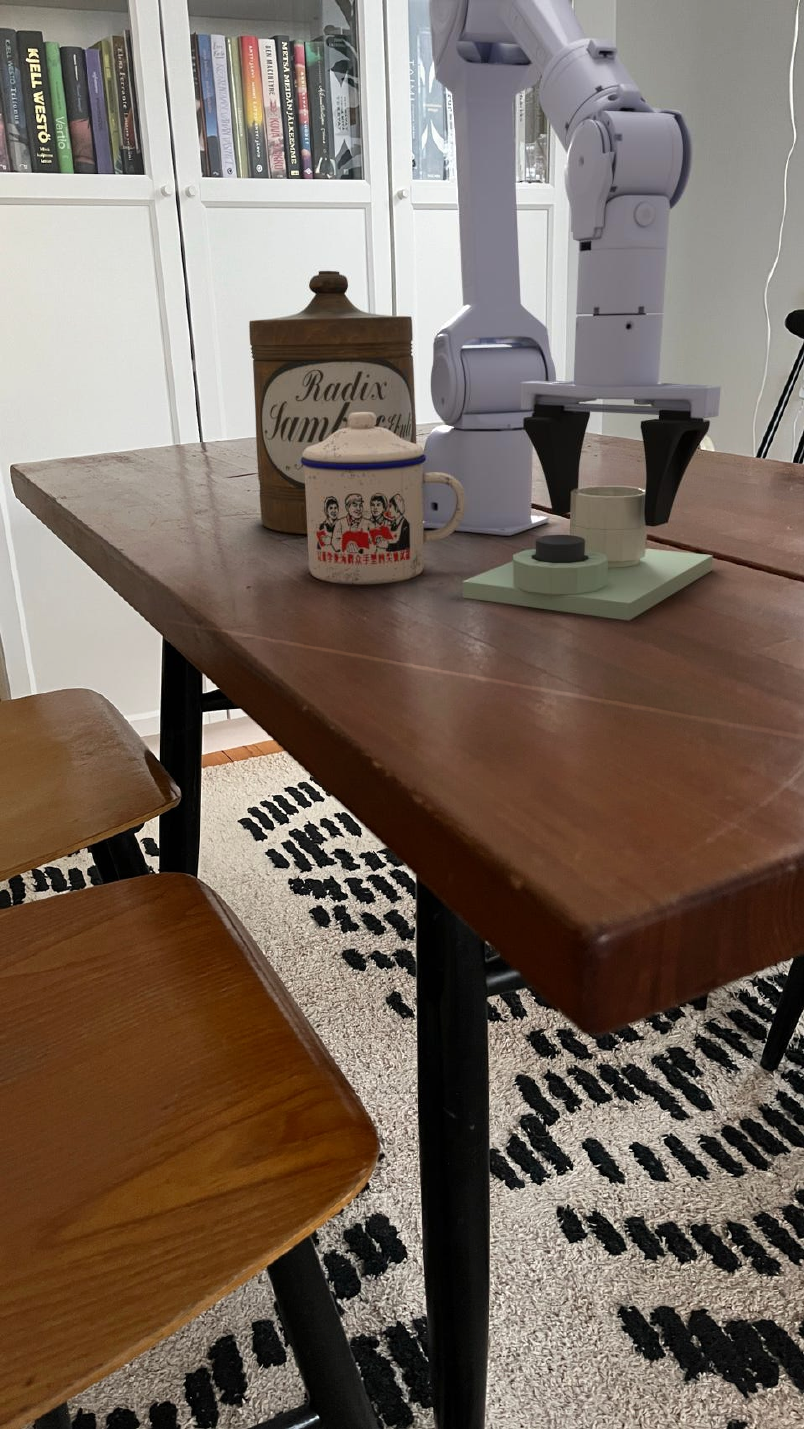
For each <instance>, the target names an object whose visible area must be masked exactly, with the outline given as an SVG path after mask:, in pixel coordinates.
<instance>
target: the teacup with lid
mask: <svg viewBox="0 0 804 1429" xmlns="http://www.w3.org/2000/svg"><path fill="white" fill-rule="evenodd" d="M348 423H349V425H350V427H348V428H343V429H340V430H338V431H336V432H334V433H333V434H332V435H330V436H329V437H328V438H327V439H325V440H324V441H322V442H320V443H318V444H315V445H312V446H309V447H307V448H306V449H305V450H304V452H303V454H302V456H303V457H302V458H301V463H302V464H303V465H304V469H305V490H306V510H307V530H308V535H307V547H308V548H307V549H308V550H307V551H308V569H309V572H310V574H311V575H312V576H313V577H314V578H316V579H318V580H321V581H323V582H327V583H333V584H341V585H358V586H359V585H361V586H363V585H366V586H367V585H383V584H390V583H392V584H393V583H397V582H403V581H406V580H410V579H413V578H415V577H417V576H418V575H420V574H422V572H423V571H424V566H425V562H424V560H425V558H424V554H425V550H424V549H425V548H424V543H425V542H427V543H428V542H435V541H440V540H443V539H445V538H447V537H448V536H450V535H451V534H452V533H453V532H454V530H455V529H456V528H457V527H458V525H459V524H460V522H461V520H462V517H463V515H464V511H465V506H466V496H465V492H464V489H463V487H462V485H461V484H460V483H459V482H458V481H457V480H456V479H455V478H454V477H452V476H451V475H448V474H445V473H439V472H430V473H423V462H424V461H425V460H426V456H425V455H424V448H423V447H422V446H421V445H420V444H418V443H417V444H414V443H411V442H408V441H405V440H403V439H401V438H400V437H398V436H397V435H395V434H394V433H393V432H391V431H390V430H388V429H385V428H381V427H374V426H375V425H376V416H375V414H374V413H372V412H355V413H351V414H350V415H349V417H348ZM423 483H444V484H447V485H448V486H450V487H451V488H452V489H453V490H454V491H455V493H456V498H457V502H456V508H455V511H454V514H453V516H452V518H451V519H450V521H449V522H448V523H447V524H446V525H445V526H443V527H442V528H440V529H432V530H424V527H423Z"/></svg>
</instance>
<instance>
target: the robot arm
mask: <svg viewBox="0 0 804 1429" xmlns="http://www.w3.org/2000/svg"><path fill="white" fill-rule="evenodd" d="M428 16H429V18H428V19H429V34H430V48H431V49H430V52H431V60H432V63H433V64H432V65H433V77H434V79H435V80H436V81H437V82H438V83H439V84H441V85H442V86H443V87H444V88H445V89H447V90H448V91H449V92H450V99H451V110H452V111H451V113H452V125H453V126H452V127H453V144H454V160H455V161H454V162H455V180H456V199H457V217H458V218H457V219H458V236H459V239H458V240H459V256H460V272H461V274H460V275H461V292H462V293H461V294H462V308H461V309H460V311H458V312H457V313H456V314H455V315H454V316H452V318H451V319H449V320H448V321H447V322H446V323H445V324H444V325H443V326H442V327H441V328H440V329H439V330H438V332H437V333H436V335H435V337H434V339H433V345H432V348H433V349H432V350H433V351H432V352H433V353H432V366H431V372H430V395H431V401H432V406H433V408H434V411H435V412H436V414H437V415H438V417H439V418H440V420H441V421H442V422H443V423H444V425H440V426H436V427H434V429H432V430H431V431H430V433H429V434H428V436H427V438H426V441H425V444H424V447H423V451H424V455H425V456H426V460H425V461H424V462H423V473H430V472H439V473H445V474H448V475H451V476H452V477H454V478H455V479H456V480H457V481H458V482H459V483H460V484H461V485H462V487H463V489H464V492H465V496H466V506H465V511H464V515H463V517H462V520H461V522H460V524H459V525H458V527H457V528H456V529H455V530H454V531H455V532H464V533H465V532H466V533H474V534H475V533H476V534H485V535H493V536H495V535H496V536H506V537H507V536H508V537H509V536H513V535H516V534H519V533H522V532H524V531H527V530H530V529H533V528H535V527H538V526H541V525H544V524H547V523H549V522H550V520H549V517H548V516H543V515H542V516H541V515H532V496H533V495H532V492H533V490H532V489H533V487H532V486H533V454H534V453H533V450H535V453H536V455H537V457H538V460H539V464H540V465H541V469H542V472H543V475H544V480H545V483H546V487H547V491H548V496H549V500H550V506H551V512H552V515H554V516H555V515H556V516H562V515H566V514H570V508H571V491H572V490H573V489H576V488H579V480H580V479H579V478H580V463H581V458H582V457H581V456H582V451H583V446H584V445H583V444H584V441H585V435H586V432H587V427H588V424H589V420H590V417H591V413H612V414H627V415H628V414H631V415H649V416H650V415H651V416H658V418H652V419H646V420H641V421H640V432H641V437H642V442H643V450H644V461H645V489H646V491H645V506H644V517H645V526H648V527H653V528H655V527H658V526H661V525H665V524H668V523H669V520H670V516H671V513H672V509H673V505H674V502H675V499H676V496H677V493H678V490H679V488H680V484H681V482H682V480H683V477H684V475H685V473H686V470H687V469H688V466H689V464H690V462H691V460H692V458H693V456H694V455H695V453H696V451H697V450H698V448H699V446H700V445H701V443H702V441H703V440H704V438H705V436H706V435H707V433H708V432H709V430H710V426H711V425H710V424H711V421H710V420H709V418H715V417H718V416H719V412H720V401H721V389H722V387H721V385H706V384H705V385H703V384H691V383H690V384H689V383H688V384H687V383H672V382H660V366H661V365H660V364H661V351H662V350H661V349H662V334H663V319H664V314H663V313H664V305H665V304H664V303H665V302H664V301H665V291H666V290H665V287H666V272H667V259H668V258H667V257H668V241H669V226H670V211H671V210H672V209H673V208H674V207H675V206H676V205H678V203H679V201H680V200H681V199H682V197H683V194H684V193H685V190H686V188H687V186H688V182H689V179H690V176H691V171H692V164H693V139H692V135H691V130H690V128H689V125H688V123H687V122H686V118H685V116H684V113H683V112H681V111H680V110H677V109H662V110H661V108H660V107H651V106H650V104H649V103H648V101H647V99H646V98H645V97H644V94H642V92H641V90H640V89H639V87H638V86H637V84H636V83H635V81H634V79H633V78H632V76H631V75H630V73H629V72H628V70H627V68H626V67H625V65H624V64H623V62H622V61H621V59H620V58H619V56H618V55H617V53H618V48H617V47H616V45H615V43H614V41H613V40H612V39H606V38H593V37H588V38H587V36H586V34H585V33H584V30H583V28H582V26H581V24H580V22H579V19H578V17H577V15H576V13H575V11H574V8H573V0H428ZM540 78H541V79H540ZM539 80H540V82H539ZM538 82H539V87H538V98H539V104H540V107H541V109H542V111H543V113H544V115H545V116H546V119H547V121H548V122H549V124H550V125H551V128H552V130H553V132H554V133H555V135H556V137H557V139H558V141H559V143H560V144H561V146H562V148H563V150H564V152H565V153H566V155H567V156H566V164H565V165H564V169H563V170H564V173H563V174H564V187H565V193H566V197H567V200H568V203H569V207H570V215H571V216H570V217H571V218H570V219H571V220H570V232H571V233H572V239H573V240H574V241H576V242H578V254H577V255H578V256H577V257H578V259H577V282H576V283H577V284H576V310H575V311H576V312H575V315H576V316H575V335H574V359H573V360H574V362H573V380H557V372H556V371H557V370H556V366H555V362H554V359H553V357H552V353H551V347H550V340H549V339H550V338H549V332H548V331H549V330H548V327H546V326H545V324H544V323H543V322H542V321H541V320H539V319H538V318H537V317H536V316H534V315H533V314H532V313H531V312H530V311H529V310H528V309H527V308H526V307H525V306H523V304H522V301H521V281H520V280H521V278H520V257H519V256H520V255H519V252H520V251H519V232H518V230H519V228H518V209H517V184H516V162H515V159H516V158H515V139H514V116H513V115H514V113H513V112H514V111H513V104H514V101H515V98H516V96H517V95H518V94H520V93H522V92H524V91H525V90H527V89H529V88H531V87H533V86H535V85H537V83H538ZM493 345H495V346H493ZM496 345H498V346H496ZM499 345H505V346H499ZM464 346H486V347H464ZM487 346H490V347H487ZM491 346H493V347H491ZM597 400H633V404H634V405H631V404H629V405H628V404H607V403H606V404H605V403H587V402H595V401H597ZM456 502H457V498H456V493H455V491H454V490H453V489H452V488H451V487H450V486H448V485H447V484H444V483H423V528H424V529H434V530H437V529H440V528H442V527H443V526H445V525H446V524H447V523H448V522H449V521H450V519H451V518H452V516H453V514H454V511H455V508H456ZM454 531H453V532H454Z"/></svg>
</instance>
